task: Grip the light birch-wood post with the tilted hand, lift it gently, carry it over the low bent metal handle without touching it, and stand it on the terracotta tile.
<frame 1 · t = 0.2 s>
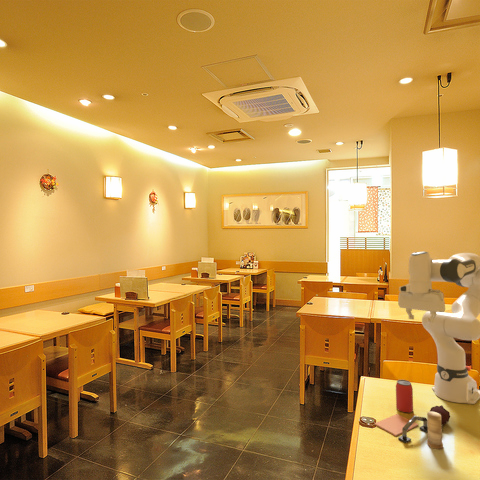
hand: (420, 320, 147), 39 cm above the table, tool pointing down, fingers open, 8 cm apart
icecream: (439, 423, 137), on the table
birch post: (434, 445, 122), on the table
bent metal handle: (415, 434, 129), on the table
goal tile: (396, 425, 136), on the table
beer can: (404, 410, 148), on the table
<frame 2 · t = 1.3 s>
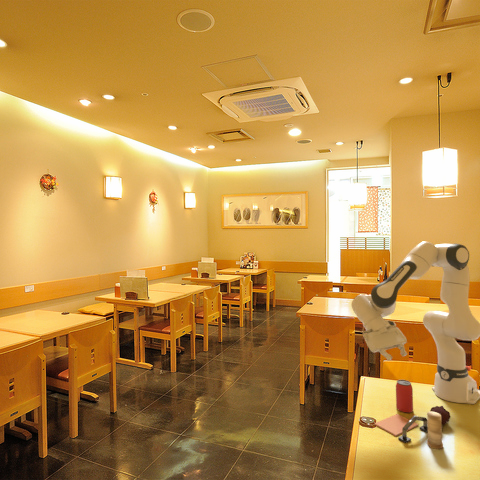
hand: (397, 357, 138), 26 cm above the table, tool tilted 45°, fingers open, 8 cm apart
nothing on the table moved.
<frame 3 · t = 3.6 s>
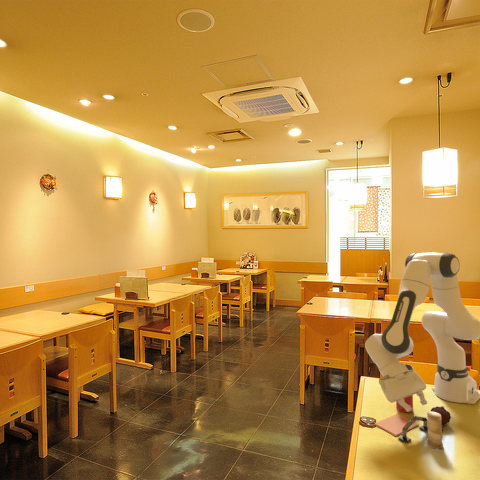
hand: (417, 407, 128), 11 cm above the table, tool tilted 45°, fingers open, 8 cm apart
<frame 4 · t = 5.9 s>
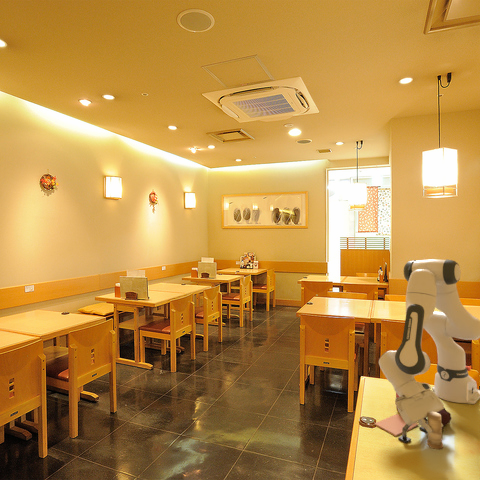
hand: (436, 430, 122), 6 cm above the table, tool tilted 45°, fingers closed on birch post, 4 cm apart
birch post: (435, 445, 122), on the table, touching gripper
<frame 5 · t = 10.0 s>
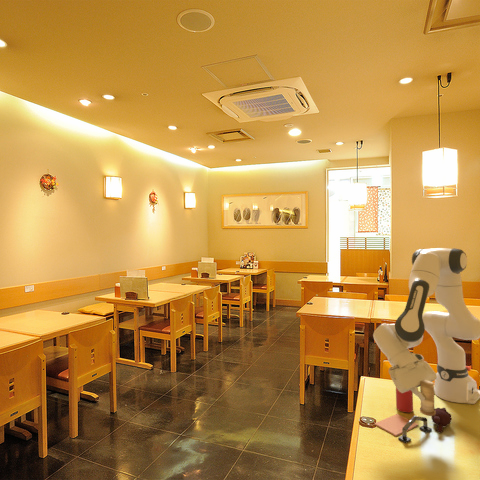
hand: (428, 397, 124), 16 cm above the table, tool tilted 45°, fingers closed on birch post, 4 cm apart
birch post: (427, 412, 125), point 11 cm above the table, touching gripper
when the fingers open (7 cm above the table, at t = 14.2 s): birch post stays where it is, resting on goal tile.
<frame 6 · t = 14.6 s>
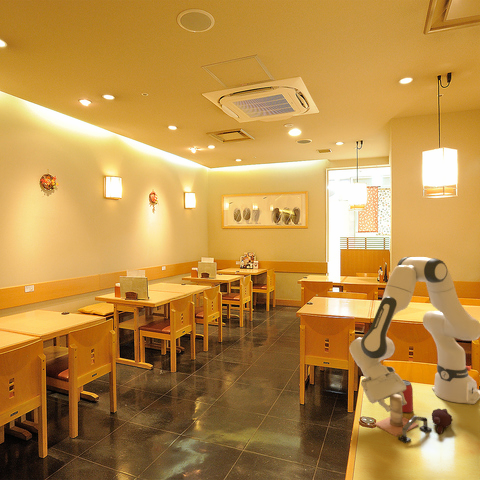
hand: (397, 407, 135), 7 cm above the table, tool tilted 45°, fingers open, 8 cm apart
birch post: (396, 423, 136), point 1 cm above the table, touching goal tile
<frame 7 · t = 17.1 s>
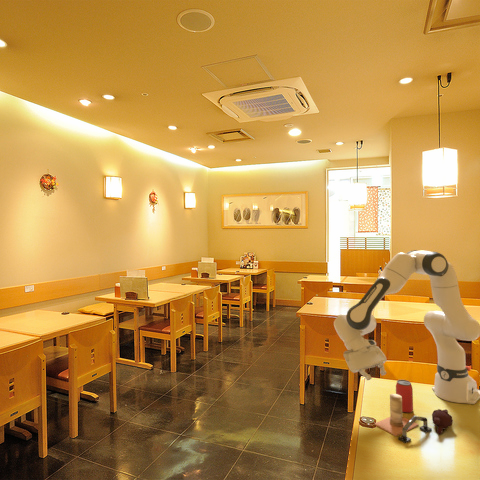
hand: (377, 376, 143), 16 cm above the table, tool tilted 45°, fingers open, 8 cm apart
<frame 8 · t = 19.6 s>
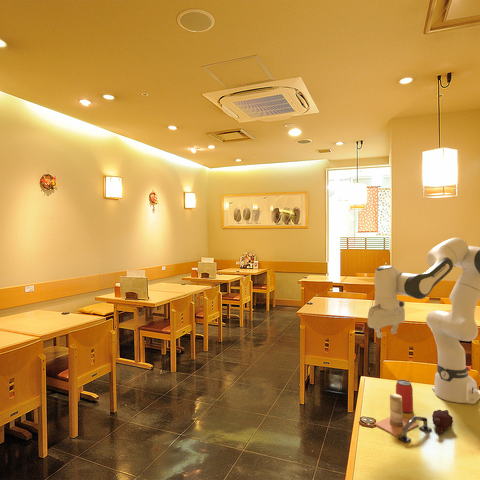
hand: (386, 335, 146), 33 cm above the table, tool pointing down, fingers open, 8 cm apart
at the end: birch post inside the target area on the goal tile (0.1 cm from its centre), point 0.6 cm above the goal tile's base; birch post tilted 0°; birch post touching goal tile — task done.
